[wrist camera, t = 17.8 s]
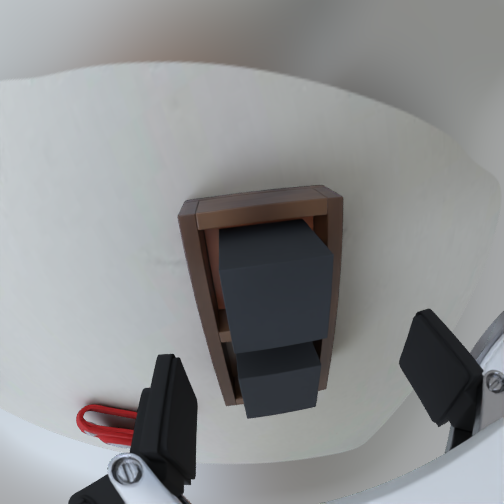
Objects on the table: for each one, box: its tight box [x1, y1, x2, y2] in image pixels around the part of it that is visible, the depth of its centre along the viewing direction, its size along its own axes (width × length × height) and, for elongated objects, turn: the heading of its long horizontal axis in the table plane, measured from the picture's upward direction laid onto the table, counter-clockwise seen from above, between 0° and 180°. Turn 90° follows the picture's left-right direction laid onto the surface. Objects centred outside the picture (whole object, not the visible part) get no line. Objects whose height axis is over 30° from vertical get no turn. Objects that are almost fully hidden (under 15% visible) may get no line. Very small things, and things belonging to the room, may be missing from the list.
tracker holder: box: [76, 404, 137, 448], centre depth 23 cm, size 12×4×10 cm
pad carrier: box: [178, 185, 343, 406], centre depth 18 cm, size 8×16×3 cm, turn 5°
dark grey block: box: [219, 219, 334, 354], centre depth 15 cm, size 5×5×5 cm
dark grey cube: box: [236, 341, 321, 418], centre depth 18 cm, size 5×5×5 cm
